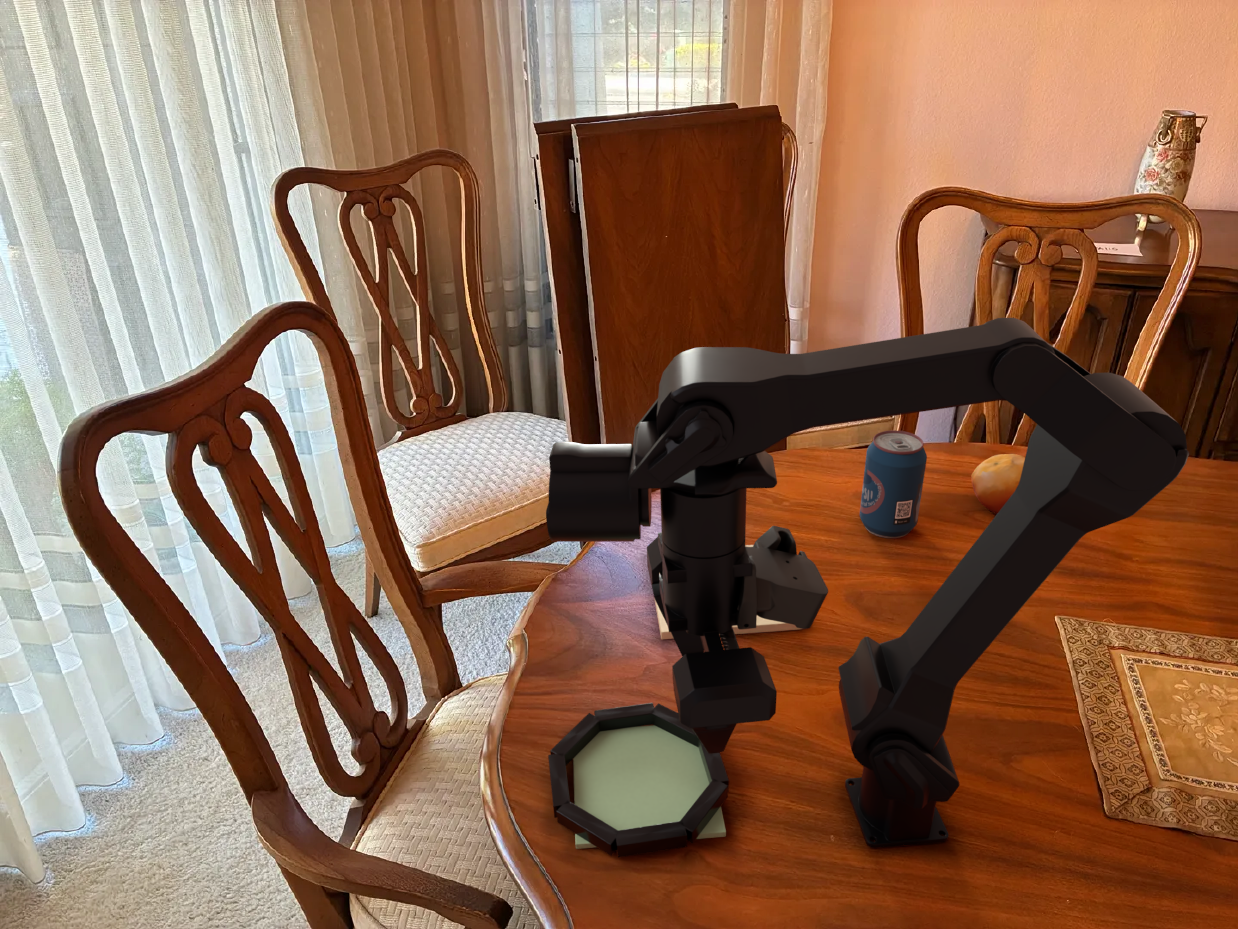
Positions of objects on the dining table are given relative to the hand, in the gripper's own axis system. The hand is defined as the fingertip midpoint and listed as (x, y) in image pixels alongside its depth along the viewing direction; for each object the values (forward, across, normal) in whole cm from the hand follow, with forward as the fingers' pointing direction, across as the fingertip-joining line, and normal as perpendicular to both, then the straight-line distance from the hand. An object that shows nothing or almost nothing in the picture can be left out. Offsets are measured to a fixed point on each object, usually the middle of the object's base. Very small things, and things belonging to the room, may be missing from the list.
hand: (704, 706), depth 66 cm
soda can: (+12, +39, -30) cm, 51 cm away
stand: (+11, +29, -7) cm, 32 cm away
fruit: (+12, +42, -46) cm, 63 cm away
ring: (+10, +3, +5) cm, 11 cm away
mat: (+11, +3, +5) cm, 12 cm away
